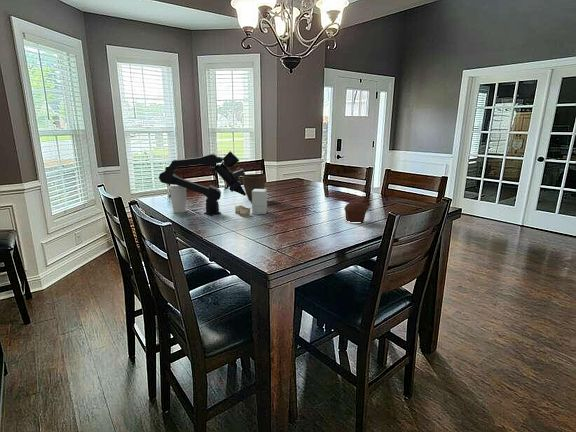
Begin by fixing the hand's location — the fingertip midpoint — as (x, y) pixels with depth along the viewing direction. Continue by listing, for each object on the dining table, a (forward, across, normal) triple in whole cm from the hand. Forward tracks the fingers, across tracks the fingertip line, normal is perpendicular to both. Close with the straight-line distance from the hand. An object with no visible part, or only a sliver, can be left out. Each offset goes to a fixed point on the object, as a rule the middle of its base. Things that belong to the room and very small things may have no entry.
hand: (245, 195), depth 183 cm
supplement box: (+13, 0, +1) cm, 13 cm away
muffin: (+44, -23, -34) cm, 60 cm away
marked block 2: (+7, -6, +7) cm, 12 cm away
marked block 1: (+6, -1, +9) cm, 11 cm away
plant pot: (+12, +32, +2) cm, 34 cm away
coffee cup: (-16, +7, +34) cm, 38 cm away
